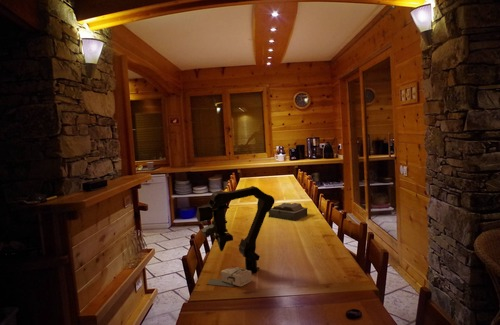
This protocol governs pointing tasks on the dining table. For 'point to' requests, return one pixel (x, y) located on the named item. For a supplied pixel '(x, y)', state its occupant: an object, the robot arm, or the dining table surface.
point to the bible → (288, 211)
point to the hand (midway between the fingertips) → (221, 250)
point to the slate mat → (219, 283)
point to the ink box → (236, 276)
